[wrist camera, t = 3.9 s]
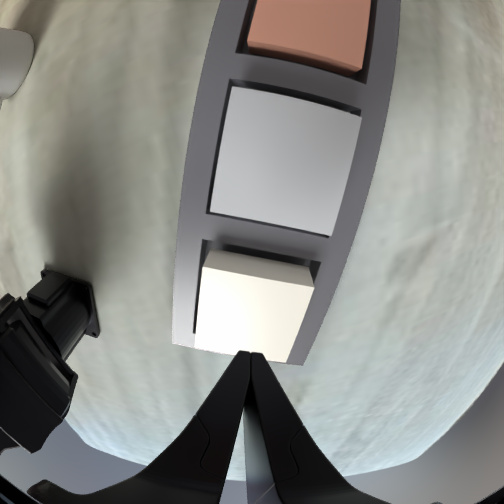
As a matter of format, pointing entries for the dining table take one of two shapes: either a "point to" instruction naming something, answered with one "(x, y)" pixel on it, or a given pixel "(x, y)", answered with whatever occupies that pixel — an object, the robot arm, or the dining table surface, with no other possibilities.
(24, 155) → the dining table surface
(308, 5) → the terracotta key
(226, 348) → the cream key
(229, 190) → the grey key
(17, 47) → the cup
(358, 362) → the dining table surface
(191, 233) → the frame
